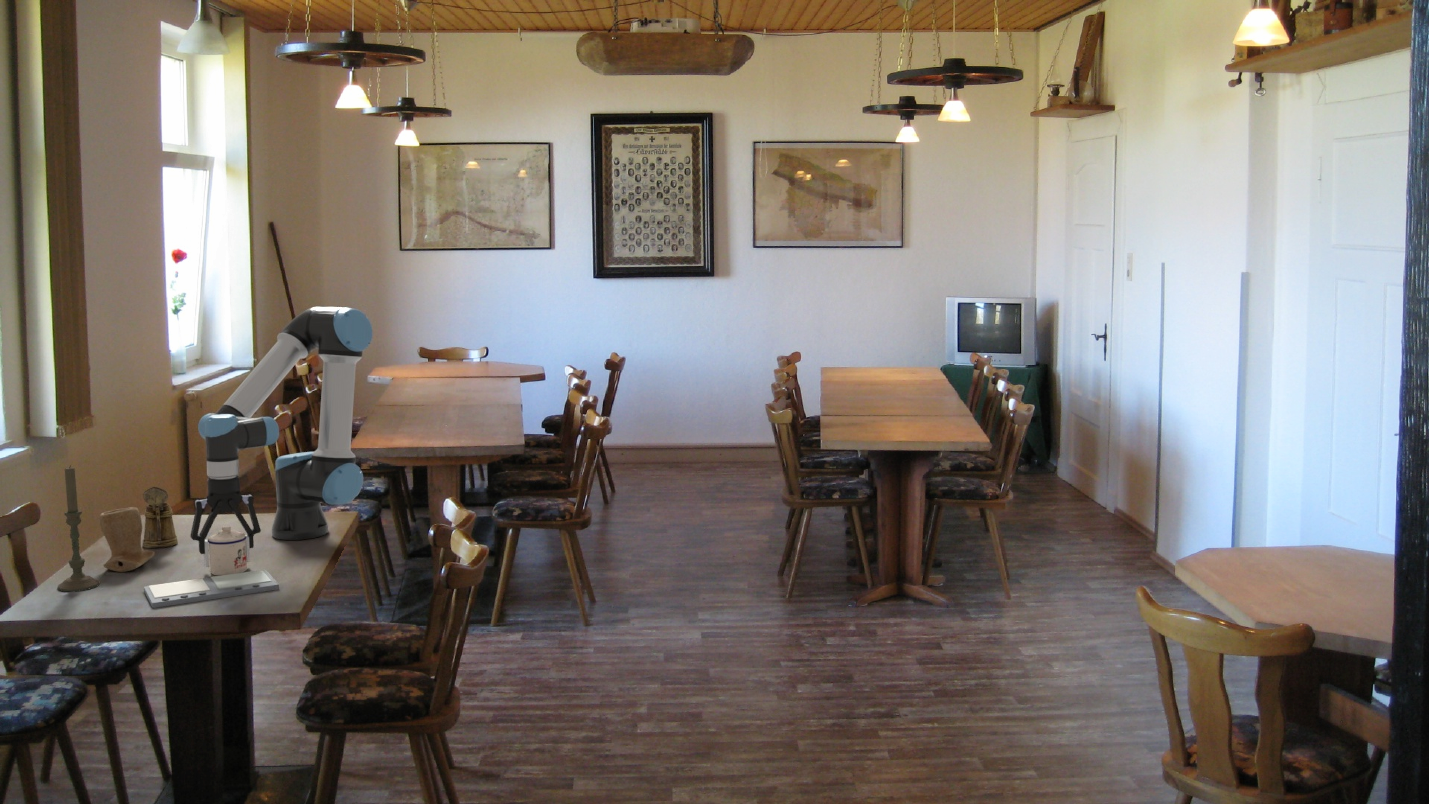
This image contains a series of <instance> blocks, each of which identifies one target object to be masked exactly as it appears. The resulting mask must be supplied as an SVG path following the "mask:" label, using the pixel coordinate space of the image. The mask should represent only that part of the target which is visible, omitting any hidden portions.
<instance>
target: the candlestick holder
mask: <svg viewBox="0 0 1429 804" xmlns="http://www.w3.org/2000/svg"><path fill="white" fill-rule="evenodd" d="M64 478H65V490H66V504H67V505H66V506H67V510H66V511H65V512H63V515H64V516H65V517H66V519H65V523H66V525H68V526H70V530H69V531H70V533H69V538H70V539H71V549H72V553H73V554H72V557H71V558H70V559H69V560H68V564H69V567H70V569H72V574H71V575H70V577H67V578H65V579H64V580H63V581H62V582H61V583H59V584H58V585H57V590H58V589H59V591H60V590H62V591H61V592H65V591H75V592H82V591H81V590H83V591H86V590H85V589H88V590H90V589H89V588H92V589H93V588H94V589H95V588H97V587H98V586H99V585H100V580H99V579H95V578H94V577H93V576H91V575H86V574H85V573H84V572H83V567H85V562H86V560H85V558H83V557H82V556H81V553H80V543H79V542H80V531H79V528H78V527H79V525H80V524H81V522H82V518H81V517H80V516H81V515H82V513H83V511H82V510H80V509H79V508H78V507H79V505H78V493H77V481H76V480H77V479H76V468H75V467H74V466H73V467H72V464H70V465H69V466H68V467H66V468H64ZM97 585H98V586H97ZM79 590H80V591H79Z"/></svg>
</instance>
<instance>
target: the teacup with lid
mask: <svg viewBox="0 0 1429 804" xmlns="http://www.w3.org/2000/svg"><path fill="white" fill-rule="evenodd" d="M246 535H247V534H245V533H244V532H240V531H237V530H235V529H231V526H230V525H224V526H222V527H221V530H219V531H218V532H216V533H214V534H210V536H209V537H208V538H207V541H208V550H209V568H210V569H209V571H210V573H211V575H214V576H222V575H229V574H236V573H243V572H247V569H248V562H247V559H246V542H245V539H246Z"/></svg>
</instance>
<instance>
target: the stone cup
mask: <svg viewBox="0 0 1429 804" xmlns="http://www.w3.org/2000/svg"><path fill="white" fill-rule="evenodd" d="M141 516H142V515H141V512H140V510H139V508H138V507H135V506H130V507H125V508H118V509H113V510H108V511H104V512H102V513H100V515H99V524H100V529H101V532H102V534H103V536H104V538H105V539H106V542H107V544H108V547H109V549H110V551H111V556H110V557H109V559H108V560H107V561H106V562H104V564H103V567H104V568H105V569H107V570H110V571H114V572H117V573H119V572H120V573H121V572H122V573H125V572H128V571H132V570H135V569H137V568H139V567H142V565H144V564H145V563H147V562H149V561H150V560H151V559H152V558H153V557H154V556H155V551H153V550H146V549H145V550H143V547H142V545H141V543H142V541H141V540H142V532H143V523H142V518H141Z"/></svg>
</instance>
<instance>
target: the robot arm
mask: <svg viewBox="0 0 1429 804" xmlns="http://www.w3.org/2000/svg"><path fill="white" fill-rule="evenodd" d="M373 334H374V332H373V326H372V323H371V321H370V318H368V317H367V315H366V314H365V313H364V311H362V310H360V309H357V308H351V307H345V306H344V307H341V306H340V307H339V306H338V307H337V306H323V305H322V306H319V305H318V306H312V307H309V308H307V309H306V310H304V311H302V312H301V313H300V314H298V315H297V316H295V317H294V318H293V319H291V321H289V322H288V324H286V325H285V326H284V327H283V329H281V331H280V332H279V333H278V334H277V337H276V341H277V342H275V344H274V345H273V346H272V347H271V348H270V349H269V351H268V352H267V353H265V355H264V356H263V357H262V358H261V360H260V361H259V362H258V364H257V365H256V366H255V367H254V368H253V369H252V371H251V372H250V373H249V374H248V375H247V376H246V377H245V379H244V380H243V381H242V382H241V384H240V385H238V387H237V388H236V389H235V390H234V391H233V393H232V394H231V395H230V396H229V397H228V398H227V400H226V401H225V402H224V403H223V405H221V407H220V408H219V409H218V410H217V411H216V412H211V413H210V412H209V413H206V414H205V415H203V416H202V417H201V418H200V419H199V422H198V425H197V427H198V433H199V435H200V437H201V438H202V439H204V441H205V454H206V455H205V457H206V475H207V476H208V478H207V479H206V480H207V495H206V498H204V499H195V500H194V505H195V511H194V517H193V521H192V525H191V531H190V538H191V539H192V541H198V552H199V553H200V555H203V564H204V565H203V566H205V568H210V555H209V542H208V539H207V536H208V534H209V532H210V530H211V528H212V527H213V523H214V522H215V519H216V518H217V517H218V514H219V515H221V514H225V513H230V514H231V513H233V514H234V516H236V518H237V519H238V521H239V523H240V524H241V526H242V528H243V530H244V531H245V533H246V534H245V535H246V539H245V542H246V559H247V563H251V551H250V550H251V549H253V548H254V543H255V542H254V541H255V540H254V537H255V535H256V534H260V533H261V531H262V529H261V527H260V526H261V525H260V523H259V520H258V517H257V513H256V510H255V507H254V502H255V501H254V499H255V498H254V496H253V495H252V494H247V495H242V494H241V486H240V485H241V483H240V481H241V480H240V476H238V475H239V474H240V465H239V464H240V461H239V456H240V455H239V452H240V451H243V450H248V449H254V448H255V449H256V448H261V447H263V448H264V447H267V446H271V445H273V444H275V443H277V441H278V439H279V437H280V428H279V425H278V422H277V421H276V420H275V418H273V417H272V416H259V417H253V415H254V414H255V413H256V412H257V410H258V409H259V408H260V407H261V406H262V404H263V403H264V402H265V401H266V399H268V397H270V395H271V394H272V393H273V391H274V390H276V388H277V387H278V386H279V384H281V382H282V381H283V380H284V378H285V377H286V376H287V375H288V374H289V373H290V371H292V369H293V367H294V366H296V364H297V363H298V362H299V360H300V359H306V358H307V357H308V356H309V354H310V353H312V352H313V351H315V350H317V349H318V354H317V355H318V357H319V358H320V359H321V360H322V361H323V365H322V368H323V369H322V379H321V381H322V382H321V395H320V396H321V397H320V398H321V399H320V411H319V412H320V414H319V427H318V429H319V430H318V442H317V448H316V449H315V450H314V451H307V452H306V451H305V452H304V451H303V452H297V453H291V454H285V455H281V456H278V457H277V458H276V460H275V465H274V466H275V468H274V469H275V470H274V474H275V476H274V477H275V490H276V491H275V493H276V504H277V505H276V507H277V508H276V511H275V512H276V513H275V516H274V520H273V523H272V527H271V535H272V538H274V539H277V540H284V541H285V540H286V541H299V540H309V539H314V538H319V537H322V536H325V535H327V534H328V533H329V523H328V521H327V518H326V516H325V513H324V511H323V508H322V506H321V503H325V504H328V505H339V506H341V505H347V504H349V503H351V502H352V501H353V500H355V498H356V497H358V495H359V494H360V492H361V490H362V488H363V484H364V474H363V471H362V470H361V467H359V466H358V465H357V464H356V454H355V453H354V452H353V451H352V448H351V445H352V443H351V442H352V433H353V432H352V429H353V416H354V415H353V414H354V402H355V401H354V400H355V398H354V397H355V385H356V372H357V370H356V369H357V363H358V362H360V360H361V359H363V351H365V350H366V349H368V347H369V345H370V344H371V343H372V340H373ZM242 501H243V503H244V504H245V505H246V507H247V510H248V514H249V518H250V521H251V524H252V528H251V527H250V525H249V523H248V522H247V520H246V518H244V516H243V514H242V513H241V510H240V509H239V506H240V504H241V502H242ZM206 505H209V506H210V507H211V509H210V511H209V513H208V516H207V518H206V520H205V521H204V524H203V526H202V528H201V531H200V532H199V530H200V524H201V521H202V515H203V509H205V507H206ZM326 533H327V534H326Z"/></svg>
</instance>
